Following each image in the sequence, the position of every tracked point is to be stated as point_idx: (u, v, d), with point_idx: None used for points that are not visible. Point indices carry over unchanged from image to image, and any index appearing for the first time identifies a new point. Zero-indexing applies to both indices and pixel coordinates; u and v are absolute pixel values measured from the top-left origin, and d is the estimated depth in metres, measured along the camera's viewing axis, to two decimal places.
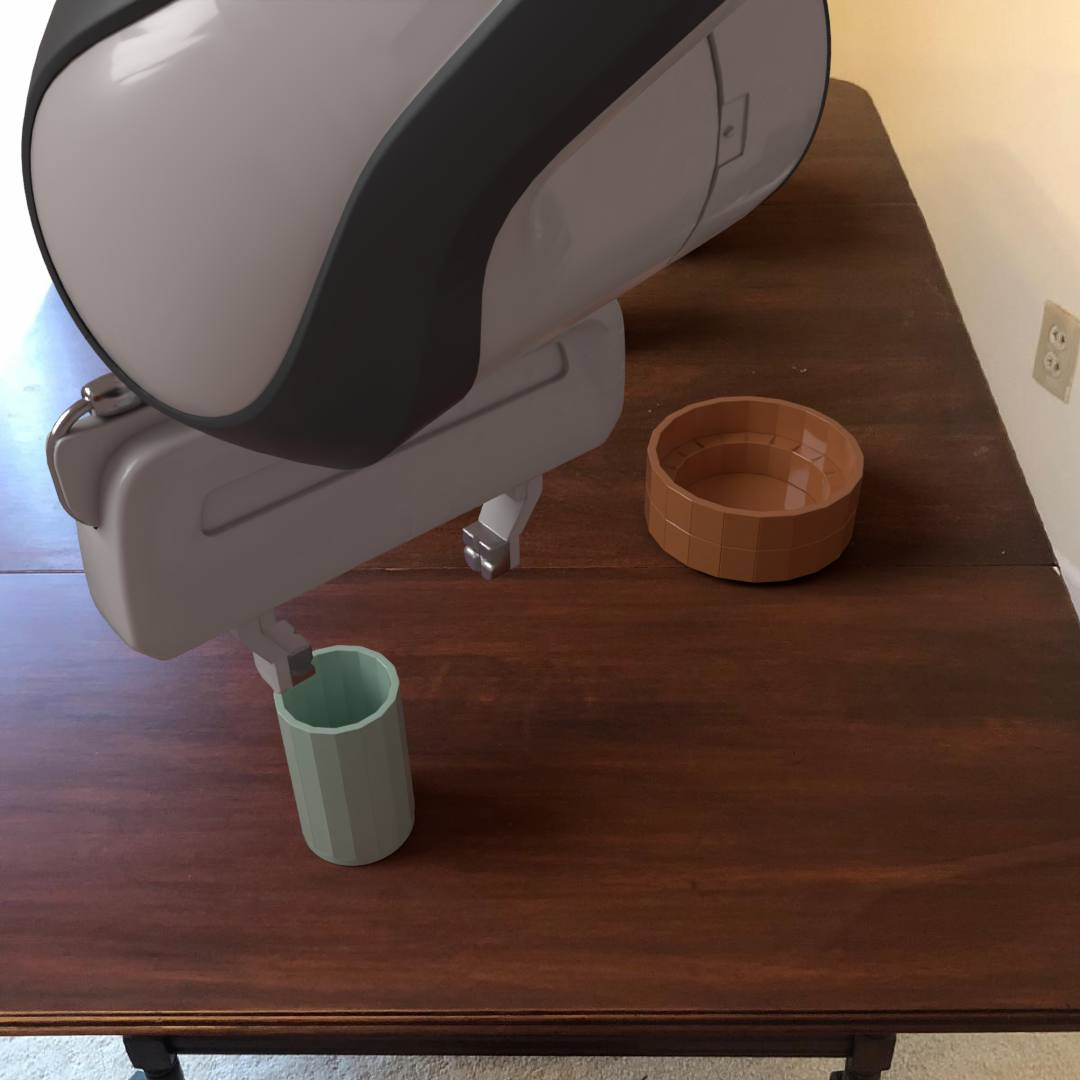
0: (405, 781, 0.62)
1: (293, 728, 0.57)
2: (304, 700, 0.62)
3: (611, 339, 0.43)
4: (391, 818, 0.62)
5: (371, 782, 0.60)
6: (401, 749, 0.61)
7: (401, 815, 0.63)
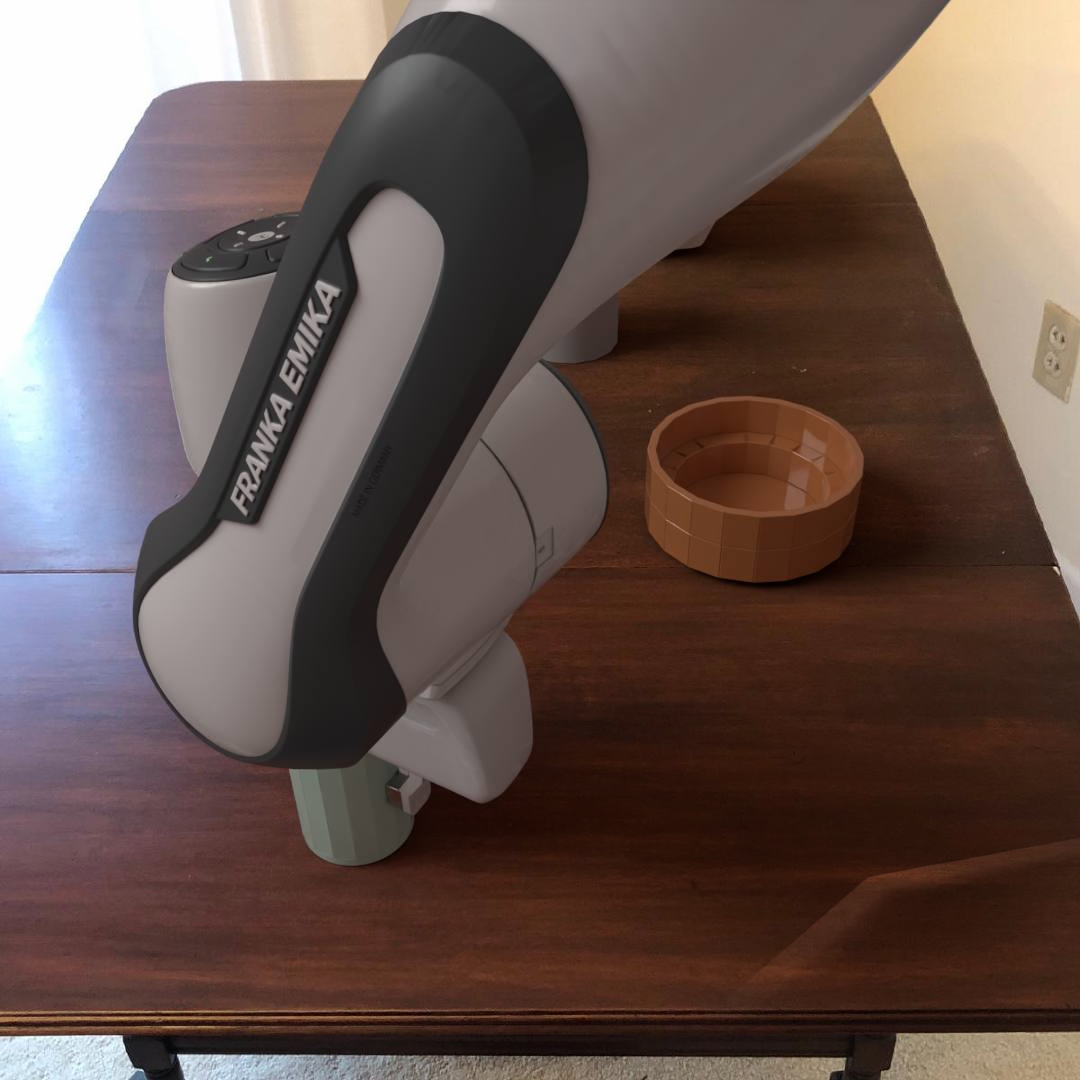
0: None
1: None
2: None
3: (457, 735, 0.52)
4: (391, 818, 0.62)
5: (371, 782, 0.60)
6: None
7: (401, 815, 0.63)
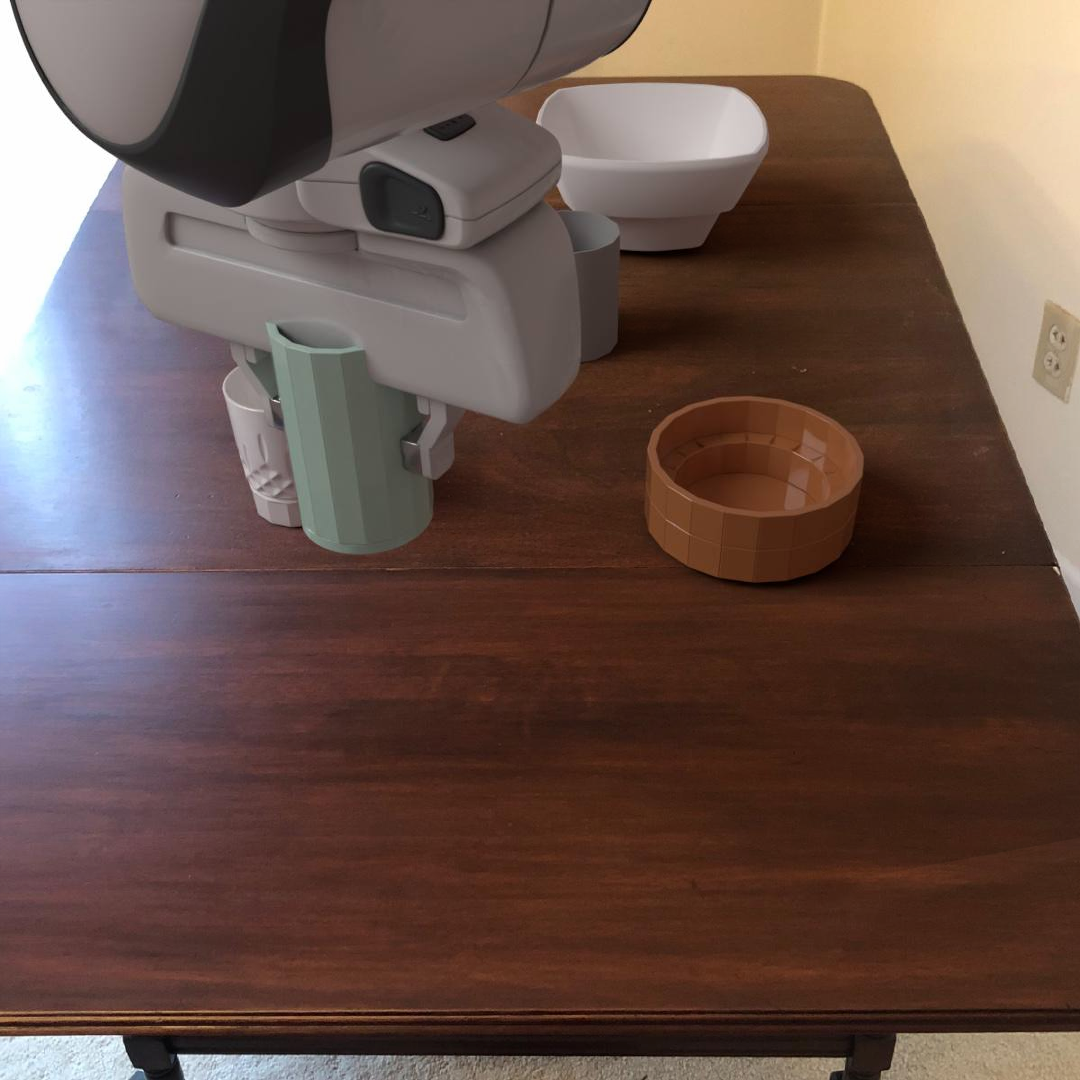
0: None
1: (290, 351, 0.48)
2: None
3: (493, 309, 0.42)
4: (407, 492, 0.52)
5: (384, 432, 0.50)
6: None
7: (419, 493, 0.53)
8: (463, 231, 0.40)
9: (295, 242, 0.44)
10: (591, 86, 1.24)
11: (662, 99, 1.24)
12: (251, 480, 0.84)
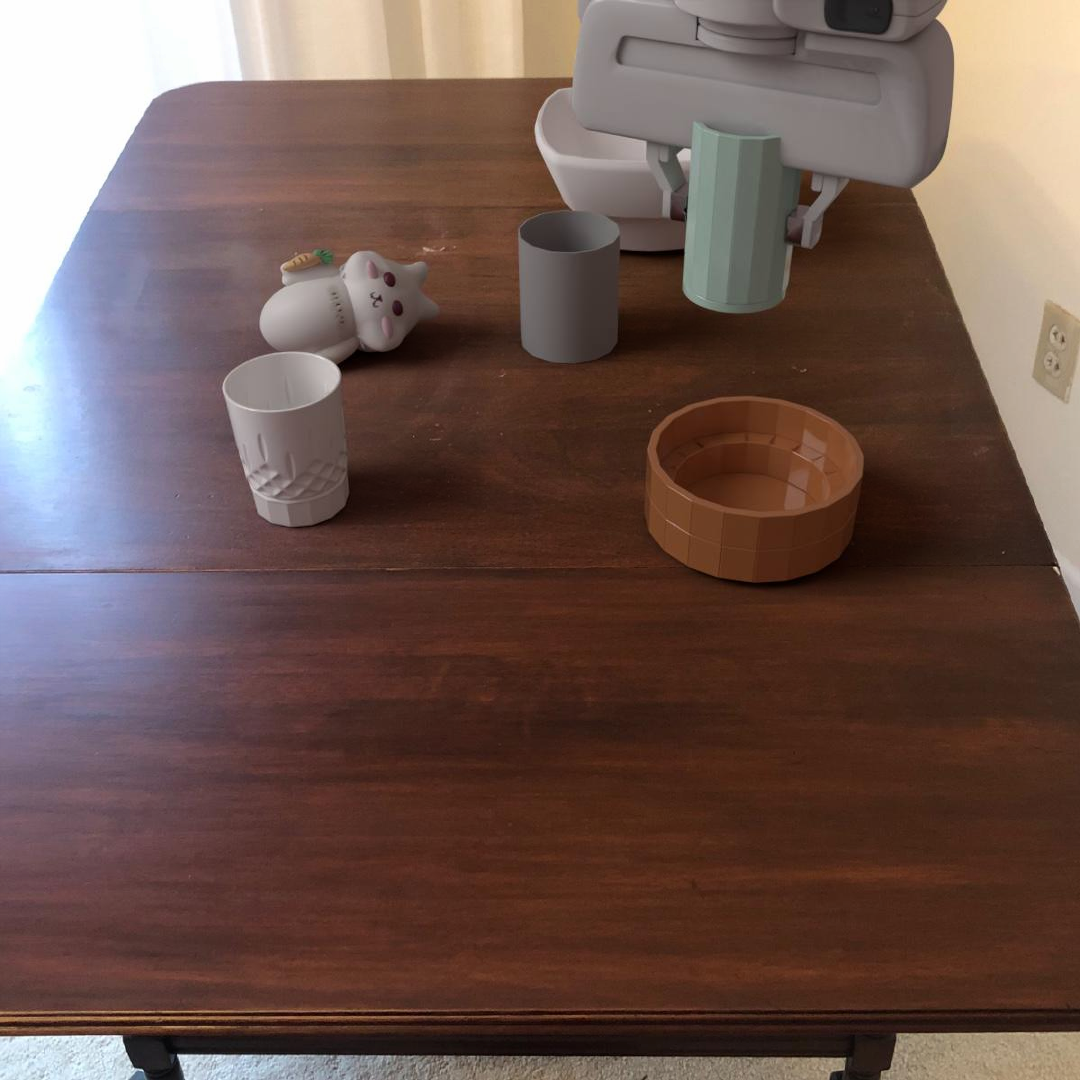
0: None
1: (722, 139, 0.63)
2: None
3: (910, 91, 0.58)
4: (782, 262, 0.68)
5: (778, 208, 0.65)
6: (799, 187, 0.66)
7: (787, 265, 0.69)
8: (905, 26, 0.56)
9: (751, 47, 0.60)
10: None
11: None
12: (251, 480, 0.84)
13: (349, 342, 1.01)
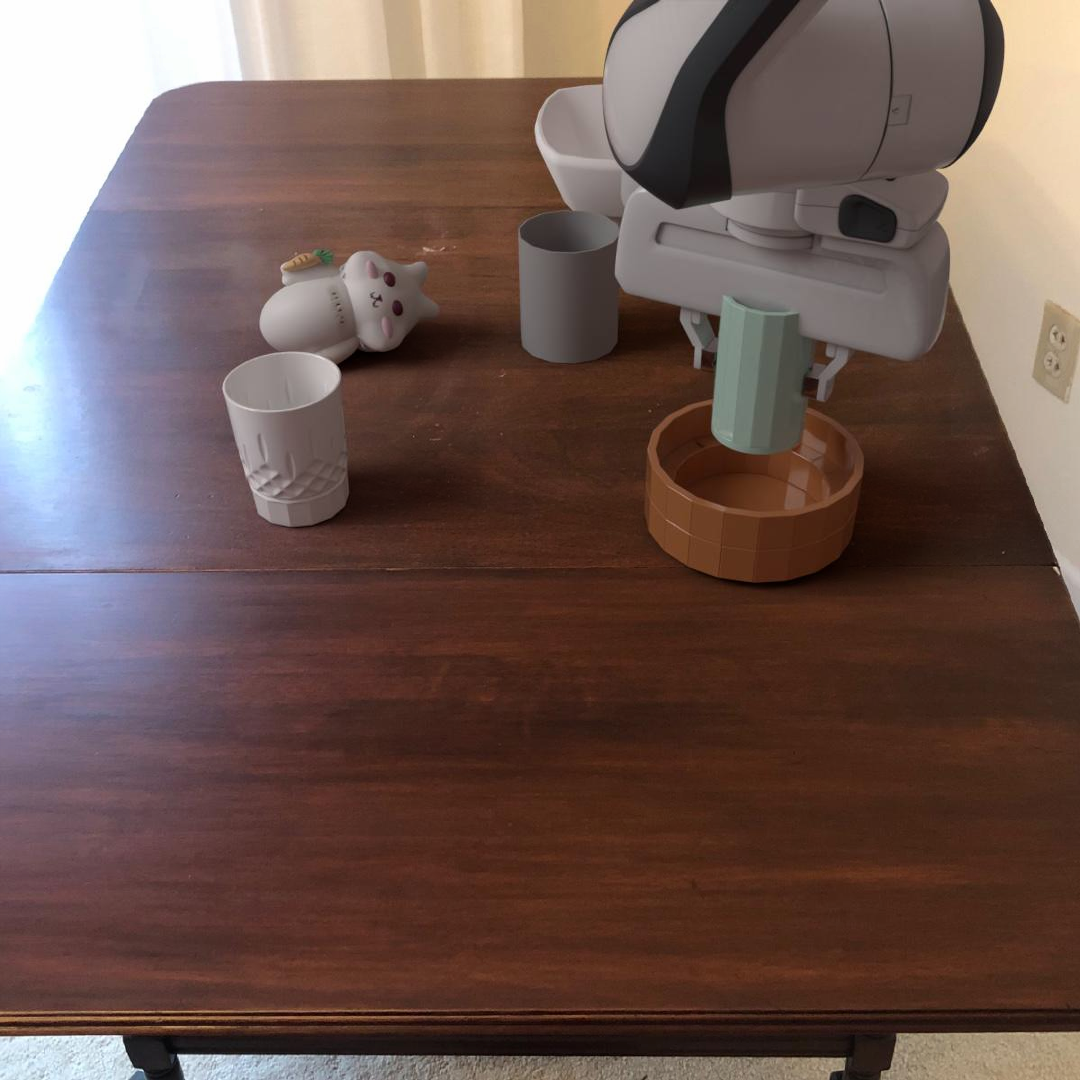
0: None
1: (748, 314, 0.72)
2: None
3: (912, 286, 0.67)
4: (799, 411, 0.77)
5: (797, 369, 0.75)
6: (815, 349, 0.76)
7: (803, 413, 0.78)
8: (908, 237, 0.65)
9: (774, 243, 0.69)
10: (591, 86, 1.24)
11: None
12: (251, 480, 0.84)
13: (349, 342, 1.01)
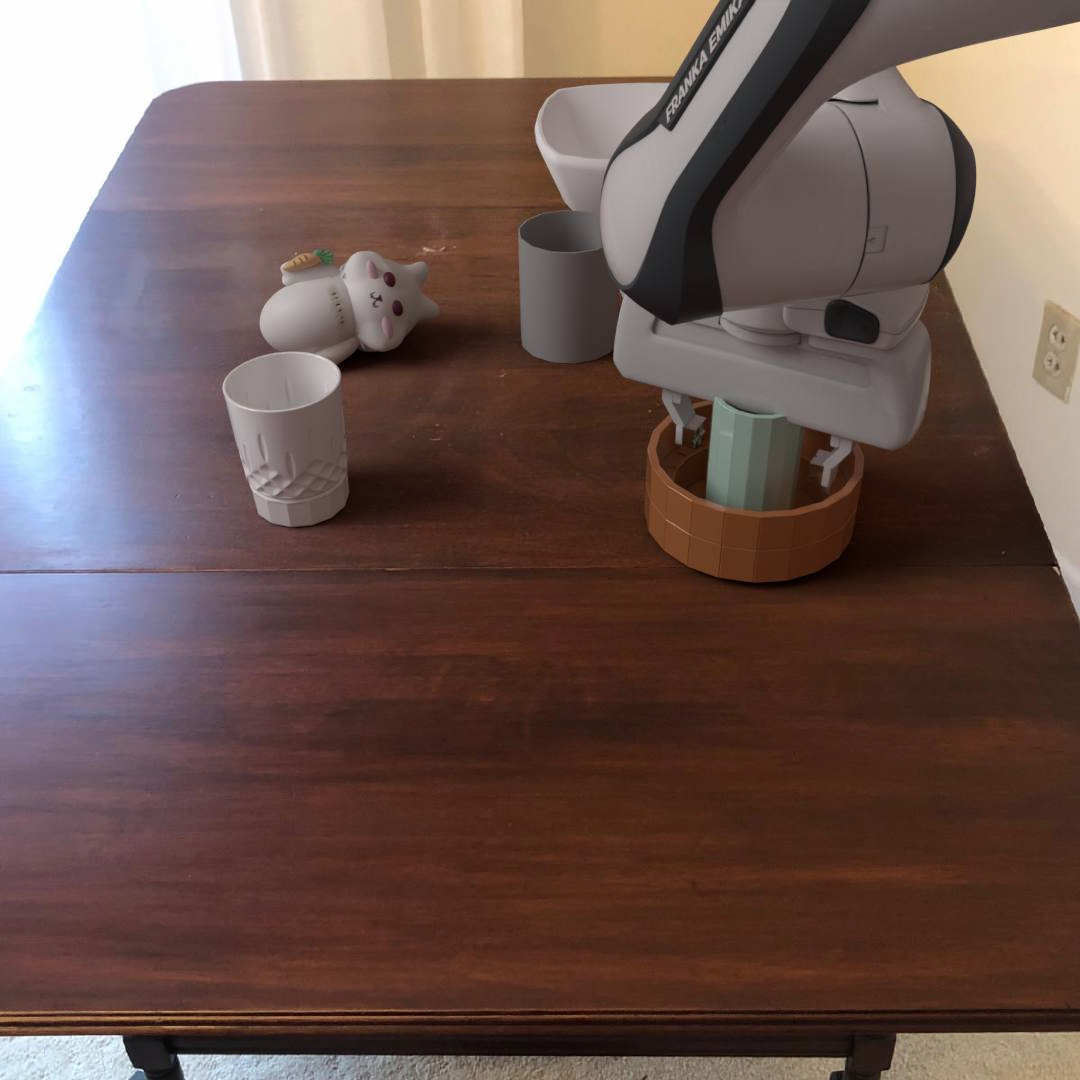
0: (797, 474, 0.82)
1: (738, 416, 0.77)
2: None
3: (894, 383, 0.71)
4: (787, 502, 0.82)
5: (784, 465, 0.79)
6: None
7: (791, 503, 0.82)
8: (890, 340, 0.69)
9: (764, 339, 0.73)
10: (591, 86, 1.24)
11: None
12: (251, 480, 0.84)
13: (349, 342, 1.01)
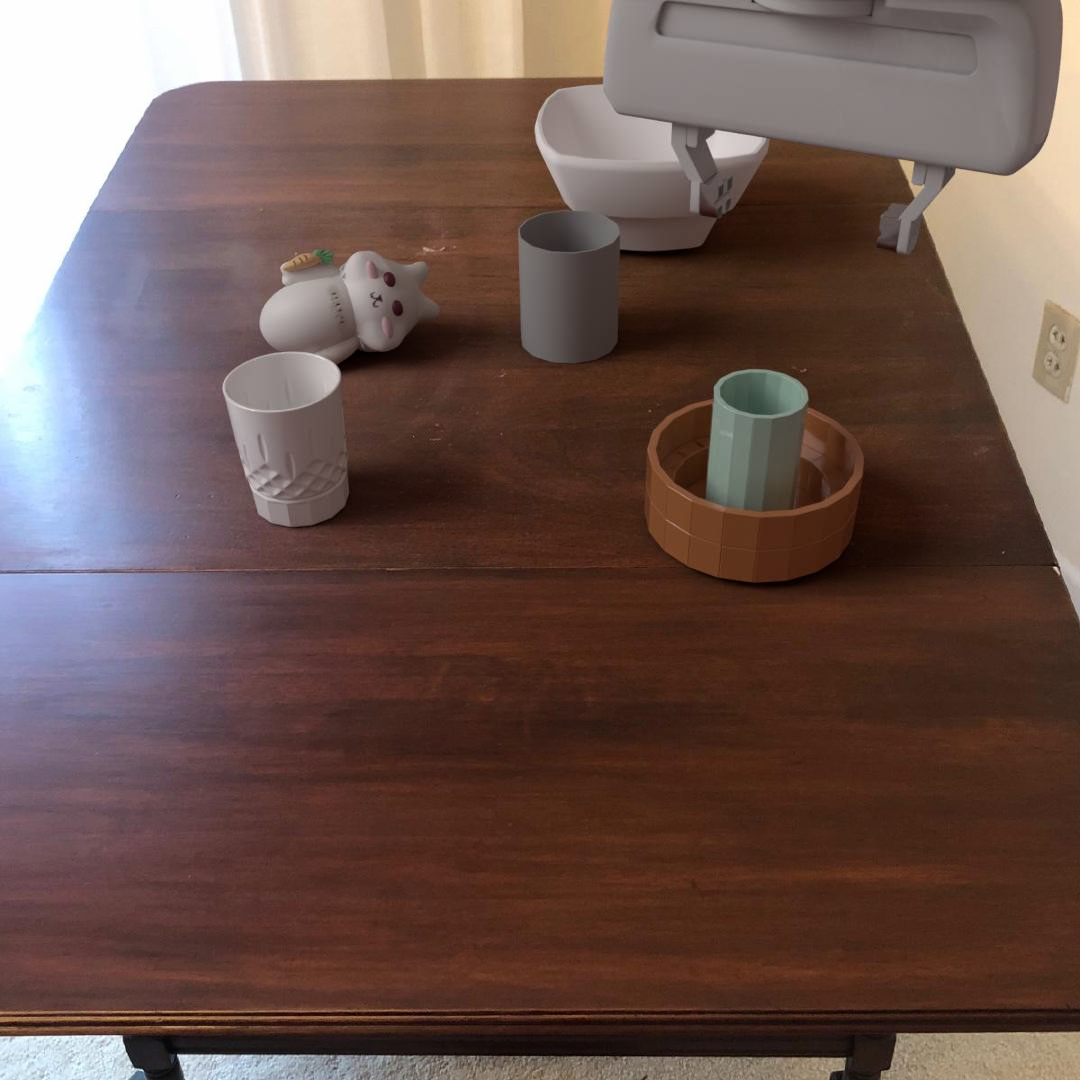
0: (797, 474, 0.82)
1: (738, 416, 0.77)
2: None
3: (1015, 55, 0.48)
4: (787, 502, 0.82)
5: (784, 465, 0.79)
6: None
7: (791, 503, 0.82)
8: None
9: (819, 7, 0.50)
10: (591, 86, 1.24)
11: None
12: (251, 480, 0.84)
13: (349, 342, 1.01)
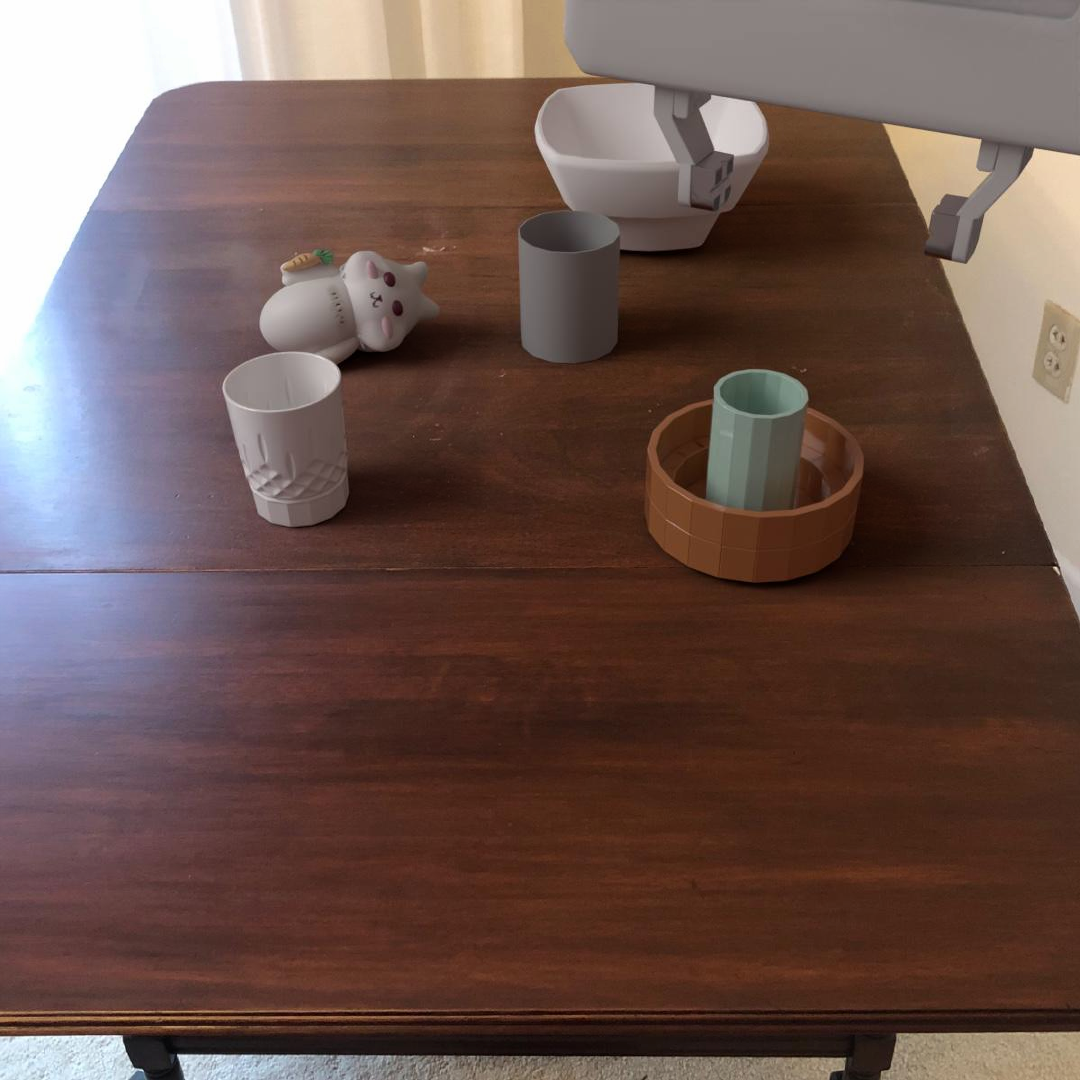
0: (797, 474, 0.82)
1: (738, 416, 0.77)
2: None
3: None
4: (787, 502, 0.82)
5: (784, 465, 0.79)
6: None
7: (791, 503, 0.82)
8: None
9: None
10: (591, 86, 1.24)
11: None
12: (251, 480, 0.84)
13: (349, 342, 1.01)
